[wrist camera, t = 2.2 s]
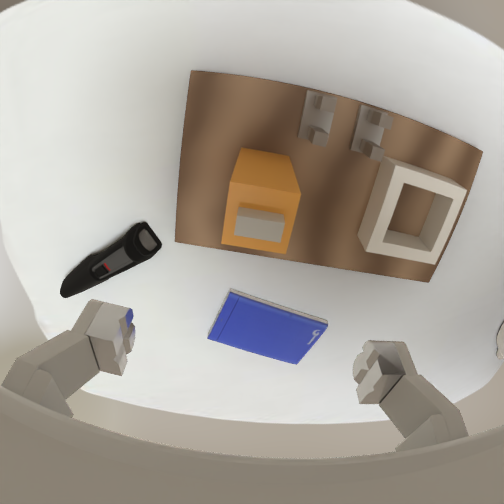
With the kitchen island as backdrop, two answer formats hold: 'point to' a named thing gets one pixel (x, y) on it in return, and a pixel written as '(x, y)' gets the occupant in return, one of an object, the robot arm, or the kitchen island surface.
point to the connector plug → (261, 202)
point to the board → (310, 167)
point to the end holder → (384, 205)
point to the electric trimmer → (112, 260)
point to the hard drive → (265, 328)
